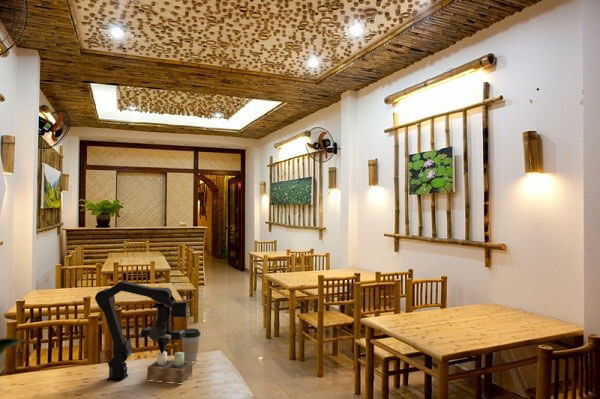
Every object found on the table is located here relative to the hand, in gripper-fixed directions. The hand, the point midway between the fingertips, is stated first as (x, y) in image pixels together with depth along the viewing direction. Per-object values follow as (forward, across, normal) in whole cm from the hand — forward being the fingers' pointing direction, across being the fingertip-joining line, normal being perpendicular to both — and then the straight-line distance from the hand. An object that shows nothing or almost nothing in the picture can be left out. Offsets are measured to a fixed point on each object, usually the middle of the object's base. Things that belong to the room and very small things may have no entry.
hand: (162, 352), depth 180 cm
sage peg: (+6, +8, 0) cm, 10 cm away
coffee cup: (+11, +4, +20) cm, 23 cm away
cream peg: (+6, 0, 0) cm, 6 cm away
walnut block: (+11, +4, 0) cm, 11 cm away
